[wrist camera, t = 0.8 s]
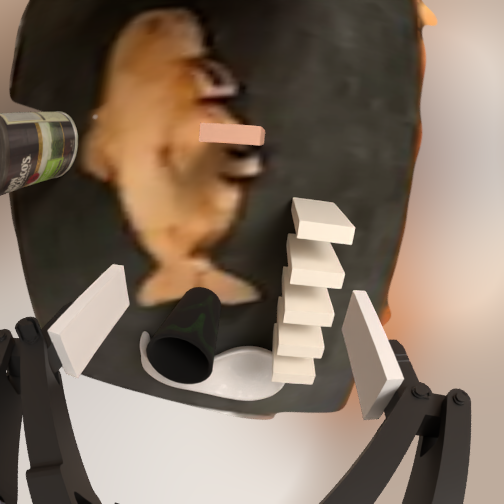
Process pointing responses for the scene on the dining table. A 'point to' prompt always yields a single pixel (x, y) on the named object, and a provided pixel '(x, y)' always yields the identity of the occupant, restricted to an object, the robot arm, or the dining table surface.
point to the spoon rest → (228, 373)
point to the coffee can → (35, 148)
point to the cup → (187, 338)
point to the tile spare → (231, 134)
